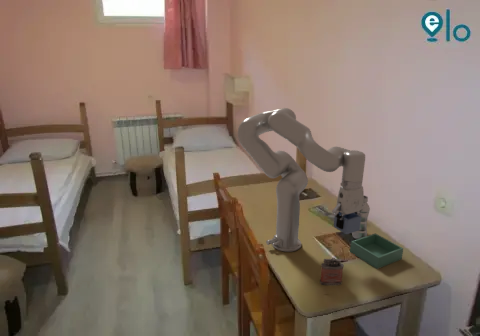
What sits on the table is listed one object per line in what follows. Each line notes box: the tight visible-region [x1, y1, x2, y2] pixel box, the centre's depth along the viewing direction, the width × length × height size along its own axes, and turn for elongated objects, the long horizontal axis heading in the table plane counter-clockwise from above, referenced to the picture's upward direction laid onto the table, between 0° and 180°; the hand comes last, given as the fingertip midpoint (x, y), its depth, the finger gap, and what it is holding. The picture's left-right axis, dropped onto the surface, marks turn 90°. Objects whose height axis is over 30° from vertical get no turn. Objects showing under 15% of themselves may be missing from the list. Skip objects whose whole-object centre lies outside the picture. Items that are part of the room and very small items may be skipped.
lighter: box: [319, 257, 345, 286], centre depth 139 cm, size 8×3×10 cm, turn 92°
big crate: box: [349, 233, 404, 270], centre depth 158 cm, size 14×14×5 cm
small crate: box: [333, 213, 361, 235], centre depth 150 cm, size 7×7×6 cm
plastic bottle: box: [351, 195, 371, 240], centre depth 169 cm, size 6×7×20 cm
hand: (346, 225), depth 151 cm, fingers closed on small crate, 7 cm apart
